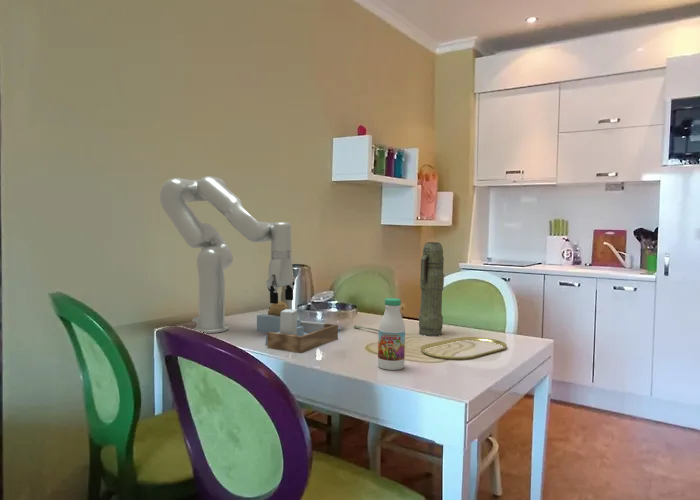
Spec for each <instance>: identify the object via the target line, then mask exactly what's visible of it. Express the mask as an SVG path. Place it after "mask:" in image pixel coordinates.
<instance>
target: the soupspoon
mask: <svg viewBox="0 0 700 500" xmlns="http://www.w3.org/2000/svg"><path fill="white" fill-rule="evenodd" d="M353 329H355V330H358V329H365V330H371V331H375V332H378V333H379V329H376V328H371V327H365V326H360V325H354V326H353Z"/></svg>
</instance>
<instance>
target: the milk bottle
mask: <svg viewBox="0 0 700 500" xmlns="http://www.w3.org/2000/svg"><path fill="white" fill-rule="evenodd" d="M401 305H402V301H401V299H400V298H396V297H395V298H394V297H393V298H392V297H388V298H385V299H384V308H385V310H384V314H383V315H382V318H381V320H380V321H379V327H378V330H379V332H378V341H377V343H378V346H377V348H378V349H377V351H378V352H377V365H378V367H379V368H380V369H383V370H388V371H389V370H390V371H399V370H402V369H404V367H405V357H406V356H405V355H406V353H405V352H406V327H405V321H404V320H403V317H402V314H401V311H400V310H401Z"/></svg>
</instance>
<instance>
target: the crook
mask: <svg viewBox="0 0 700 500" xmlns="http://www.w3.org/2000/svg"><path fill="white" fill-rule="evenodd" d="M301 321H302V320H301V319H300V318H297V336H303V335H305V333H304V327H302V326H301ZM256 331H257V332H261V333H262V332H263V333H268V332H274V333H280V316H273V315H268V314H265V313H261V314H258V315H256ZM265 346H267V334H265Z"/></svg>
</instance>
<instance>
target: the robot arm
mask: <svg viewBox="0 0 700 500" xmlns="http://www.w3.org/2000/svg"><path fill="white" fill-rule="evenodd" d="M159 200H160V201H159V202H160V204H161V207H162V209H163V211H164V212H165V214H166V216H167V217H168V218H169V219H170V221H171V222H172V224H173V225H174V227H175V229H176V230H177V231H178V233H179V234H180V236H181V238H182V239H183V240H184V242H185V243H186V245H188V246H189V247H191V248H193V249H200V251H199V253H198V254H197V257H196V266H197V267H196V268H197V275H198V316H195V317H193V318H192V319H191V323H196V326H194V328H193V330H194V329H195V330H198V331H201V332H204V333H203V334H215V333H216V334H217V333H222V332H227V331H228V330H229V328H230V327H229V325H227V324H225V318H226V317H225V313H226V312H225V307H226V306H225V304H226V301H225V299H226V296H225V295H226V283H225V282H226V280H225V279H226V278H225V273H224V270H225V269H227V268H229V267H230V266H231V265H232V263H233V260H234V256H233V252H232V250H231V249H230V247H229V246H228V245H227V243H226V242H225V240H224V239H223V237H222V236H221V234H220V233H219V232H218V230H217V229H216V228H215V227H214V226H213V225H211V224H210V223H205V222H201V220H200V219H198V217H197V216H196V214H195V212H194V210H192V209H191V208H190V207H189V205H188V204H187V203H186V202H189V203H191V202H208V203H209V204H210V205H211V206H212V207H213V208H215V209H216V210H217V211H218V212H220V214H222V215H223V216H224V217H225V218H226V220H227V221H228V223H229V224H230V225H231V226H232V227H233V228H234V229H235V230H236V231H237V232H238V233H239V234H241V235H242V236H243V237H244V238H245V239H247V240H248V241H250V242H252V243H264V242H269V241H270V260H269V264H268V278H267V280H266V282H265V283H266V286H267V289H268V293H269V303H270V304H278V301H279V292H278V290H279V288H281V287H285V289H284V291H285V292H284V293H285V294H284V295H285V296H284V297H285V298H284V299H285V301H293V300H294V288H295V285H296V276H294V270H293V262H292V261H293V260H292V225H291V223H290V222H286V221H279V222H277V221H275V222H268V221H258V220H257V219H256V218H255V217H253V216H252V215H251V214H250V213H249V212H248V211H247V210H246V208H244V206H243V204H242V200H241V199H240V198H239V196H237V195H236V194H235V193H233V192H232V191H231V190H230V189H229V188H228V186H227V183H226V182H225V180H223V179H222V178H219V177H216V176H212V175H207V176H203V177H201V178H200V179H186V178H182V177H172V178H169V179H167V180H166V181H165V182H164V183H163V185H162V186H161V189H160V193H159ZM195 330H194V331H195ZM201 332H200V333H201Z"/></svg>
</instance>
